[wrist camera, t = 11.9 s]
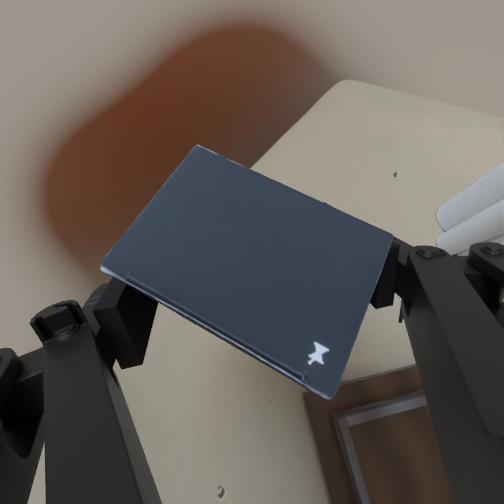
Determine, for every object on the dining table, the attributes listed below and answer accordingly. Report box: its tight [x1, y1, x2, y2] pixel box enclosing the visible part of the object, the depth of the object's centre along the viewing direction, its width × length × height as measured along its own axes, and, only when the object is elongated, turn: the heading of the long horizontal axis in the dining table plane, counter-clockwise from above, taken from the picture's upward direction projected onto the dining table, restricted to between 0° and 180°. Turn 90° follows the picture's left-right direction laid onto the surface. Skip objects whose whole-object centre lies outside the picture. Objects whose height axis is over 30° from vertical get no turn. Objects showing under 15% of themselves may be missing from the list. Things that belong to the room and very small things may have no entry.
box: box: [100, 145, 393, 400], centre depth 13 cm, size 8×6×11 cm
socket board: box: [302, 364, 455, 504], centre depth 24 cm, size 22×22×3 cm
